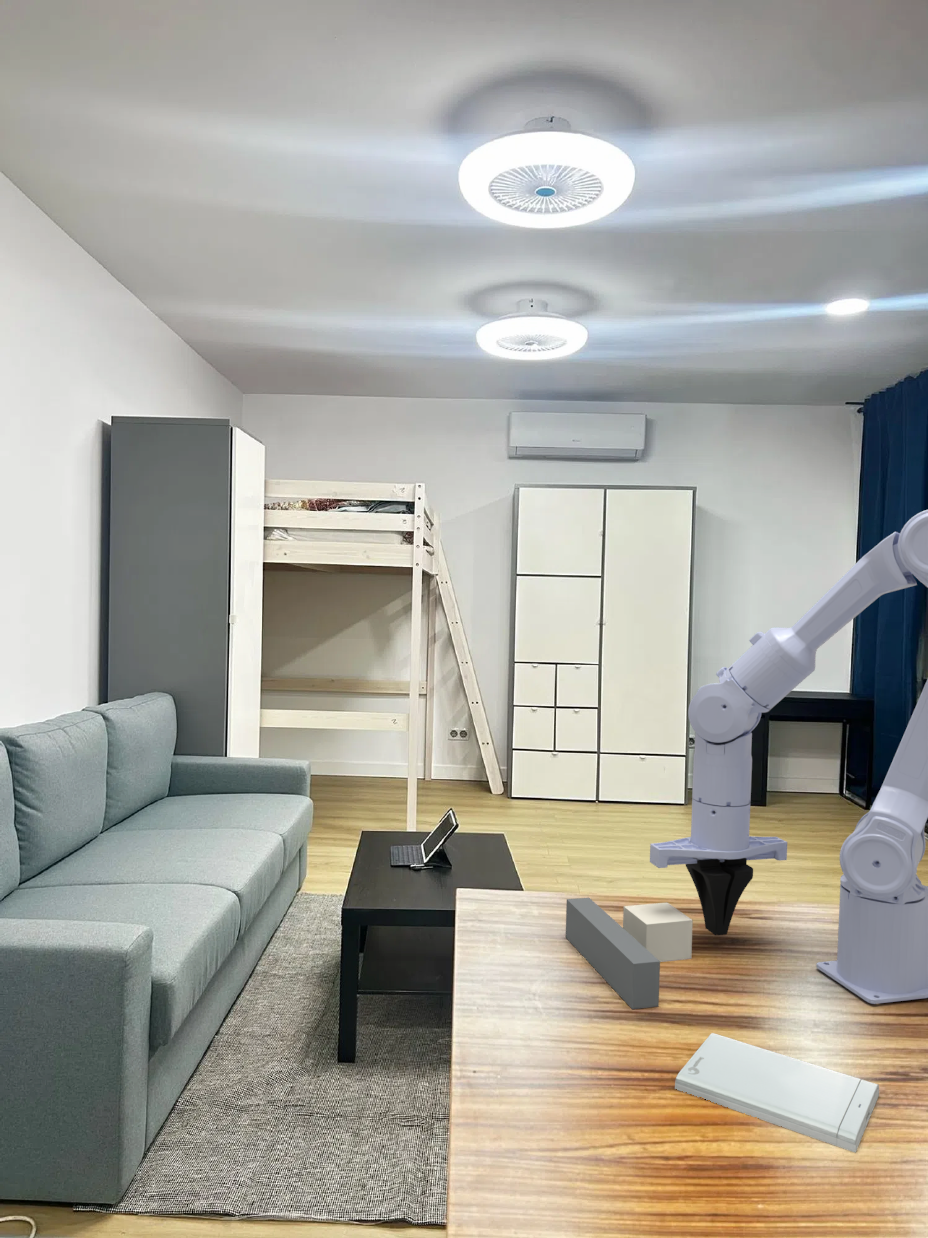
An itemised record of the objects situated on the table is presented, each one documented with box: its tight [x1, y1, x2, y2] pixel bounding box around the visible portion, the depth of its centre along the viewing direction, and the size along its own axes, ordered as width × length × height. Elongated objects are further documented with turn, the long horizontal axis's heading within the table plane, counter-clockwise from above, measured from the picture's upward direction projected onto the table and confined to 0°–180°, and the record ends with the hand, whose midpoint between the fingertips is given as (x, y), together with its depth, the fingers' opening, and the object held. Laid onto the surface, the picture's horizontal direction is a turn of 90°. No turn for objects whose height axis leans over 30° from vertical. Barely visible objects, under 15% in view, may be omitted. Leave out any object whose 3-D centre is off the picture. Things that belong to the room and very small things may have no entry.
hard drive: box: [674, 1032, 880, 1153], centre depth 66 cm, size 2×8×12 cm
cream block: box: [622, 902, 693, 963], centre depth 91 cm, size 5×5×4 cm
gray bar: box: [565, 897, 661, 1010], centre depth 86 cm, size 2×16×4 cm, turn 15°
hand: (716, 931), depth 93 cm, fingers closed
